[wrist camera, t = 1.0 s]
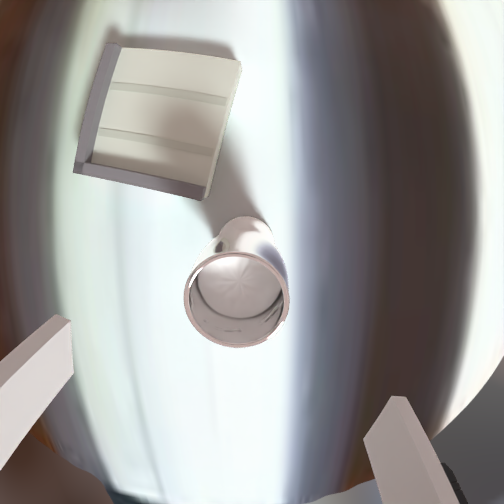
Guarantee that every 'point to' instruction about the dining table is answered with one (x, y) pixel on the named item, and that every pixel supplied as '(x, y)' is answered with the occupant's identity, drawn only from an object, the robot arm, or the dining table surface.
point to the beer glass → (238, 286)
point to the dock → (157, 119)
